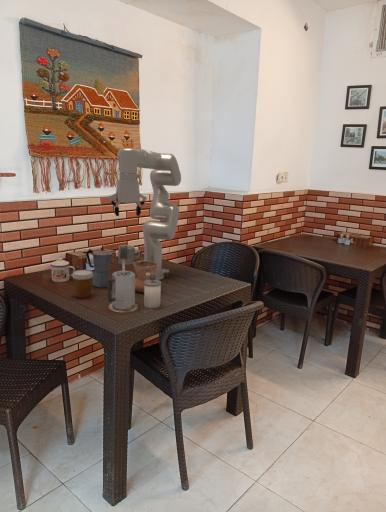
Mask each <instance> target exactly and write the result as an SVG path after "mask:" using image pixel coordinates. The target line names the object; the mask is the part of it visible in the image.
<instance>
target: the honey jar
mask: <svg viewBox="0 0 386 512" xmlns="http://www.w3.org/2000/svg"><path fill="white" fill-rule="evenodd" d="M72 273H73V275H71V277H72V278H73V284H74V291H75V297H76V298H78V299H84V298H85V299H86V298H89V297H91V293H92V287H93V285H92V282H93V276H94V272H93V271H92V270H89V269H77V270H75V271H74V270H73V272H72Z"/></svg>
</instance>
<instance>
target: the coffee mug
mask: <svg viewBox="0 0 386 512" xmlns="http://www.w3.org/2000/svg"><path fill="white" fill-rule="evenodd" d="M120 246H127V259H125V266H129V265H130V266H131V265H134V262H135V260H137V259H139V258H140V256H141V253H140V252H141V251H140V249H138V248H135V246H134V245H131V244H129V245H128V244H126V245H125V244H124V245H123V244H122V245H119V246H118V247H117V248H118V249H117V250H118V251H117V254H118V257H117V260H118V261H117V264H119V265H122V266H123V259H121V258H120ZM136 252H137V255H136Z"/></svg>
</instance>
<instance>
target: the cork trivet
mask: <svg viewBox="0 0 386 512" xmlns="http://www.w3.org/2000/svg"><path fill="white" fill-rule="evenodd" d="M138 308H139V304H137V303H136V302H135V307H134V308H133V309H131V310H127V311H119V310H115V309H113V308H112V303H110V304H109V305H108V309H109V310H110V311H111V312H116V313H129V312H130V313H131V312H134V311H136V310H138Z"/></svg>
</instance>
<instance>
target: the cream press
mask: <svg viewBox="0 0 386 512" xmlns="http://www.w3.org/2000/svg"><path fill="white" fill-rule="evenodd" d="M161 286H162V281H161V280H156V273H150V280H145V281H144V293H143V294H144V295H143V296H144V297H143V306H144V307H145V308H149V309H157V308H160V306H161V295H162V294H161V293H162V292H161V291H162V289H161V288H162V287H161Z"/></svg>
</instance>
